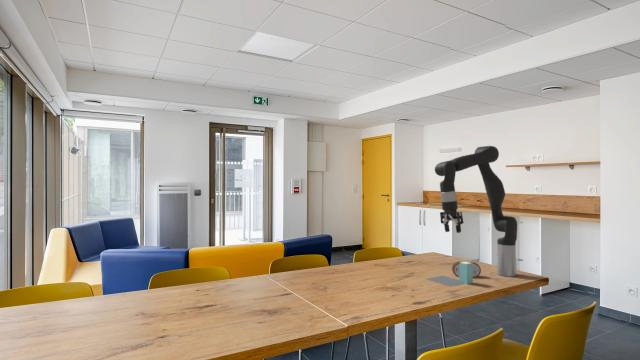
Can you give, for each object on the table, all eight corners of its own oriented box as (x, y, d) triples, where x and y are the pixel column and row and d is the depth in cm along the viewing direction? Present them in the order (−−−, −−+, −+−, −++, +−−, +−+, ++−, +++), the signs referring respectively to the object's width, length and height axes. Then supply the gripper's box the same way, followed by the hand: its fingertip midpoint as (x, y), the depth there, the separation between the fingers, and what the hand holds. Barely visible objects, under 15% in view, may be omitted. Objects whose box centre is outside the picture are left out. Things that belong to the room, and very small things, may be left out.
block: (465, 280, 191) (465, 261, 191) (472, 283, 187) (472, 262, 187) (459, 282, 188) (459, 262, 188) (466, 284, 184) (466, 263, 185)
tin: (479, 276, 202) (479, 261, 202) (481, 278, 199) (481, 262, 199) (451, 276, 204) (451, 260, 204) (453, 277, 200) (453, 262, 201)
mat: (442, 276, 202) (442, 275, 202) (468, 283, 187) (468, 282, 187) (424, 279, 195) (424, 278, 195) (450, 287, 180) (450, 286, 180)
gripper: (464, 199, 181) (468, 231, 181) (445, 200, 195) (449, 230, 194) (452, 201, 179) (456, 234, 178) (434, 201, 192) (438, 232, 191)
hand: (453, 232), depth 186 cm, fingers open, 8 cm apart
